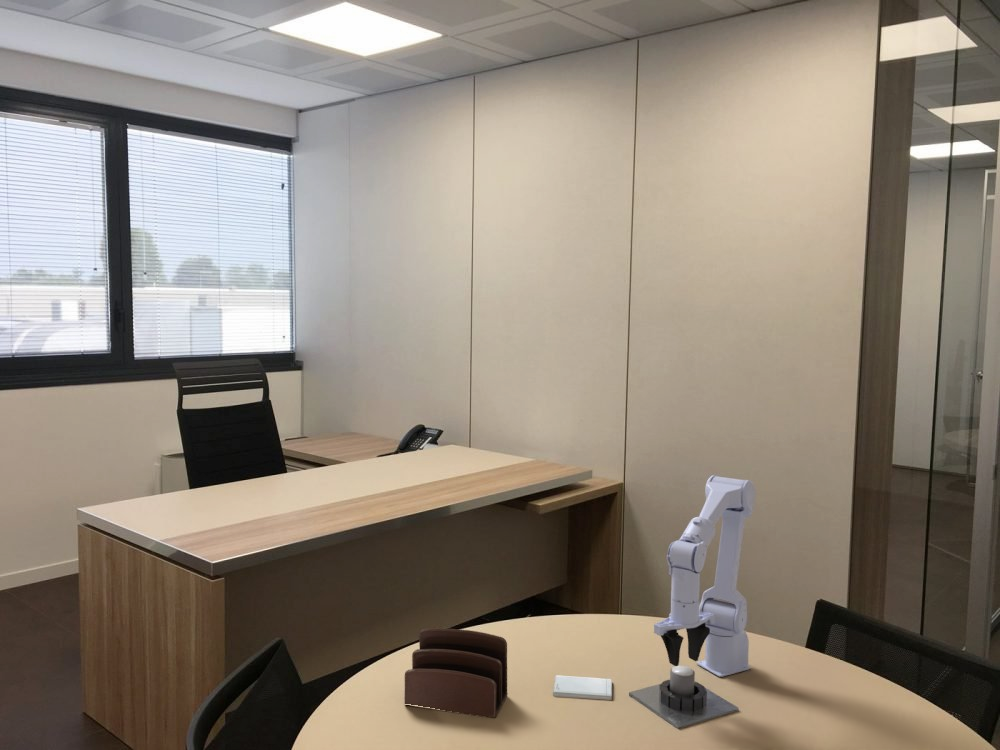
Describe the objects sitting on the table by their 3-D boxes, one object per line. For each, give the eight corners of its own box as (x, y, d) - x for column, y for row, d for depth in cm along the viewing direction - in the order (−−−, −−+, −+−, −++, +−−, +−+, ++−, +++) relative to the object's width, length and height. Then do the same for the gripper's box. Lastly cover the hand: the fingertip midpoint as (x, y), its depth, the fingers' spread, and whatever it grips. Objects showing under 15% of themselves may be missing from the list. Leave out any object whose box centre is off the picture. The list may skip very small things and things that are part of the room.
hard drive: (553, 691, 177) (611, 694, 175) (555, 674, 185) (611, 677, 183) (553, 698, 177) (611, 702, 175) (555, 681, 185) (611, 684, 183)
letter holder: (420, 685, 182) (420, 623, 181) (508, 697, 177) (508, 633, 176) (403, 707, 172) (403, 641, 171) (495, 719, 167) (496, 652, 166)
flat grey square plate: (686, 679, 185) (687, 666, 185) (738, 710, 171) (739, 696, 171) (628, 695, 177) (629, 681, 177) (677, 728, 163) (678, 714, 163)
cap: (683, 691, 178) (684, 663, 177) (698, 701, 173) (699, 673, 173) (664, 696, 176) (665, 667, 175) (679, 706, 171) (680, 677, 170)
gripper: (698, 587, 179) (697, 648, 180) (645, 598, 172) (643, 661, 173) (721, 597, 173) (720, 660, 174) (667, 609, 166) (665, 674, 167)
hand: (683, 661), depth 173 cm, fingers open, 5 cm apart
